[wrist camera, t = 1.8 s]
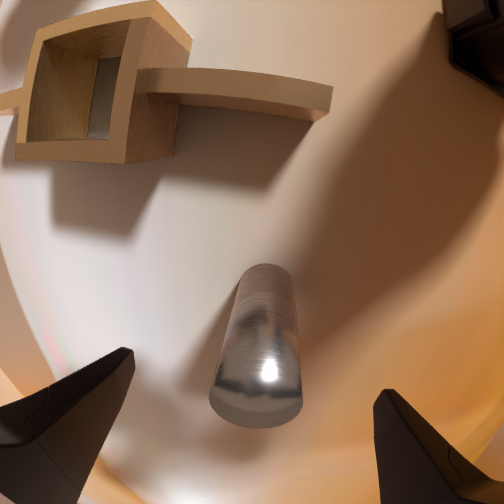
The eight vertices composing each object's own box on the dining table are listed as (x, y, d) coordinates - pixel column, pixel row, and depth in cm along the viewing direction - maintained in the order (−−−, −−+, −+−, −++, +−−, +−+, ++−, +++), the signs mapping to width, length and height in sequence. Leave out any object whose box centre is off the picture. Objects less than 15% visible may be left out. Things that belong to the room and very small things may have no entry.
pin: (299, 268, 15) (314, 379, 8) (287, 315, 16) (289, 432, 9) (243, 259, 15) (212, 363, 8) (235, 307, 16) (206, 420, 9)
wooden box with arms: (324, 54, 11) (347, 13, 6) (304, 176, 13) (319, 191, 9) (25, 66, 12) (-26, 60, 7) (13, 152, 14) (-39, 162, 9)
